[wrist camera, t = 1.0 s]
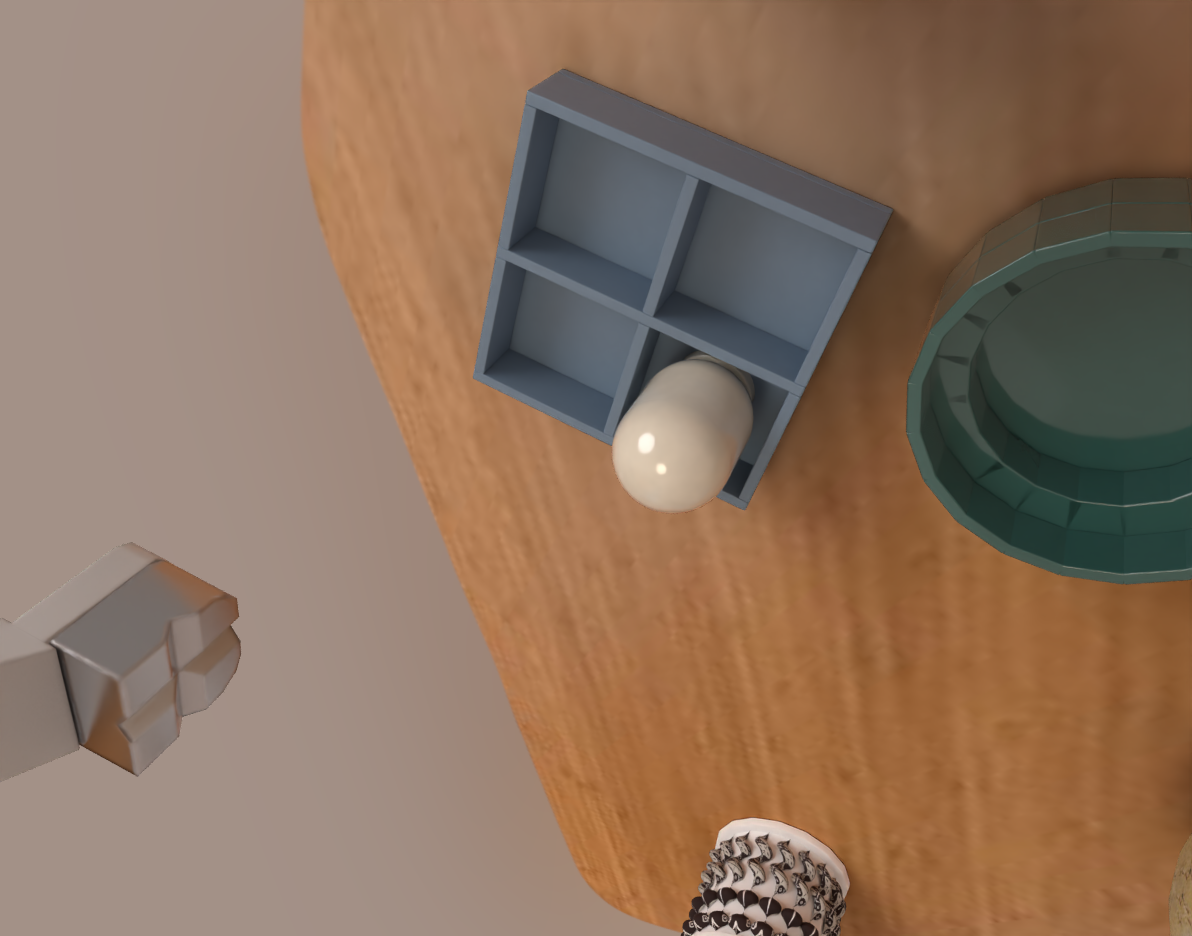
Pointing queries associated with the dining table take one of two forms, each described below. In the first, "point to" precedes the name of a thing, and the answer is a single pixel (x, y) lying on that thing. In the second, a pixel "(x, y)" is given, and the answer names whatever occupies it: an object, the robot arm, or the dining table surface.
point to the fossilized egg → (1182, 894)
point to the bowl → (1068, 384)
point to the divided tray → (662, 264)
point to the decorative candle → (769, 884)
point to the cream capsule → (684, 434)
